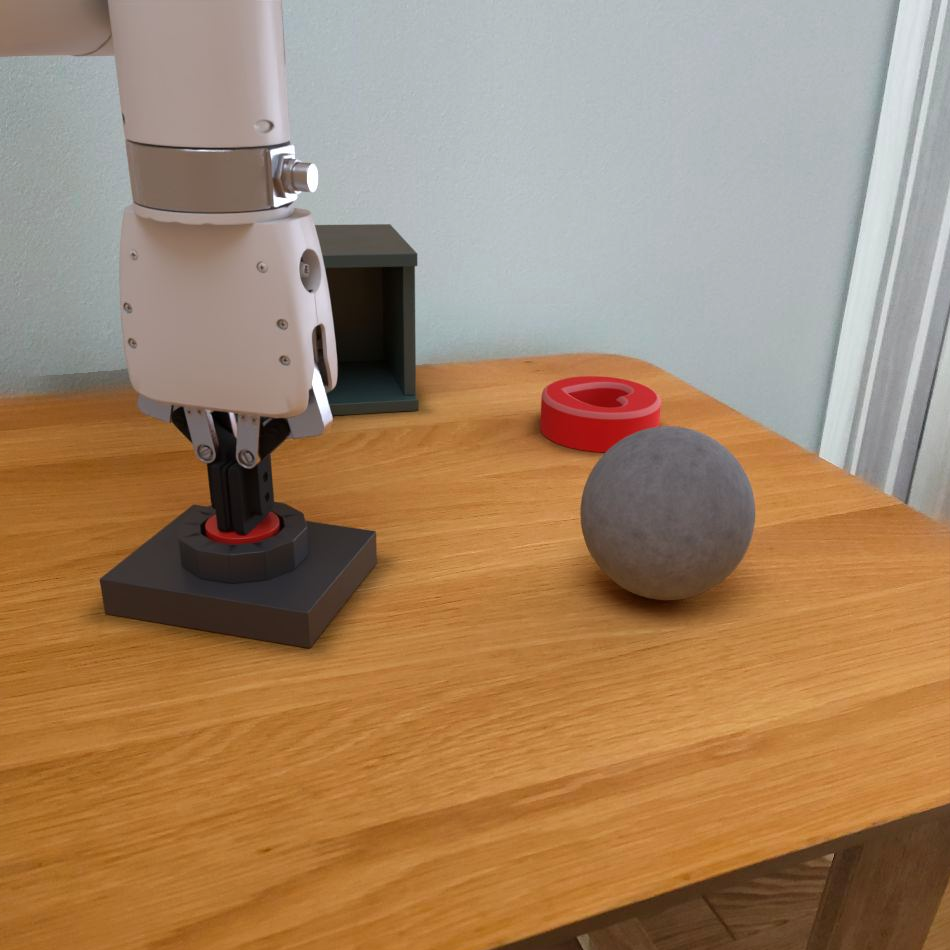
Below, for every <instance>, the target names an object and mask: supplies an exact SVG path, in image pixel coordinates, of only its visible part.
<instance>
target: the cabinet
mask: <svg viewBox="0 0 950 950" xmlns="http://www.w3.org/2000/svg"><path fill="white" fill-rule="evenodd" d="M315 228H316V232H317V236H318V240H319V244H320V248H321V252H322V257H323V262H324V266H325V272H326V277H327V282H328V288H329V295H330V301H331V309H332V316H333V324H334V333H335V341H336V353H337V383H336V386H335V388H334V389H333V390H331V391H330V392H328V393H326V396H327V399H328V403H329V406H330V410H331V413H332V417H333V416H349V415H350V416H352V415H364V414H365V415H366V414H384V413H399V412H400V413H401V412H416V411H419V399H418V397H417V369H416V368H417V364H416V363H417V361H416V359H417V358H416V357H417V356H416V354H417V353H416V348H417V347H416V343H417V342H416V339H417V338H416V267H418V264H419V263H418V253H417V252H416V250H415V249H414V248H413V247H412V246H411V245H410V244H409V243H408V242H407V241H406V240H405V239H404V237H403V236H401V234H400V233H399V232H398V231H397V230H396V229H395V228H394V226H392V224H390V223H376V224H375V223H373V224H372V223H371V224H368V223H367V224H366V223H365V224H315ZM234 415H235V419H236V422H238V413H234Z"/></svg>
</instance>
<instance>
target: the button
mask: <svg viewBox="0 0 950 950" xmlns="http://www.w3.org/2000/svg"><path fill="white" fill-rule="evenodd" d="M205 528H206V537H207V538H208V539H210V540H212V541H213V542H219V543H226V544H233V545H235V544H246V543H256V542H259V541H262V540H265V539H268V538H270V537H273V536H276V535H277V534H278V533H279V532H280V525H279V518H278V517H277V515H276V514H274V513H273V512H270V513H269V514H268V516H267V517H266V518H265V519H264V520H262V521H261V522H260V523H259V524H258V525H257V526H256V527H255V528H254V529H253V530H252V531H251V532H249V533H248V534H247V535H244V534H237V533H236V531H234V530H231V531H230V532H224V531H219V530H218V528H217V519H216V514H215V515H213V516H212V517H210V518H209V519H208V520H207V522H206V525H205Z"/></svg>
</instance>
